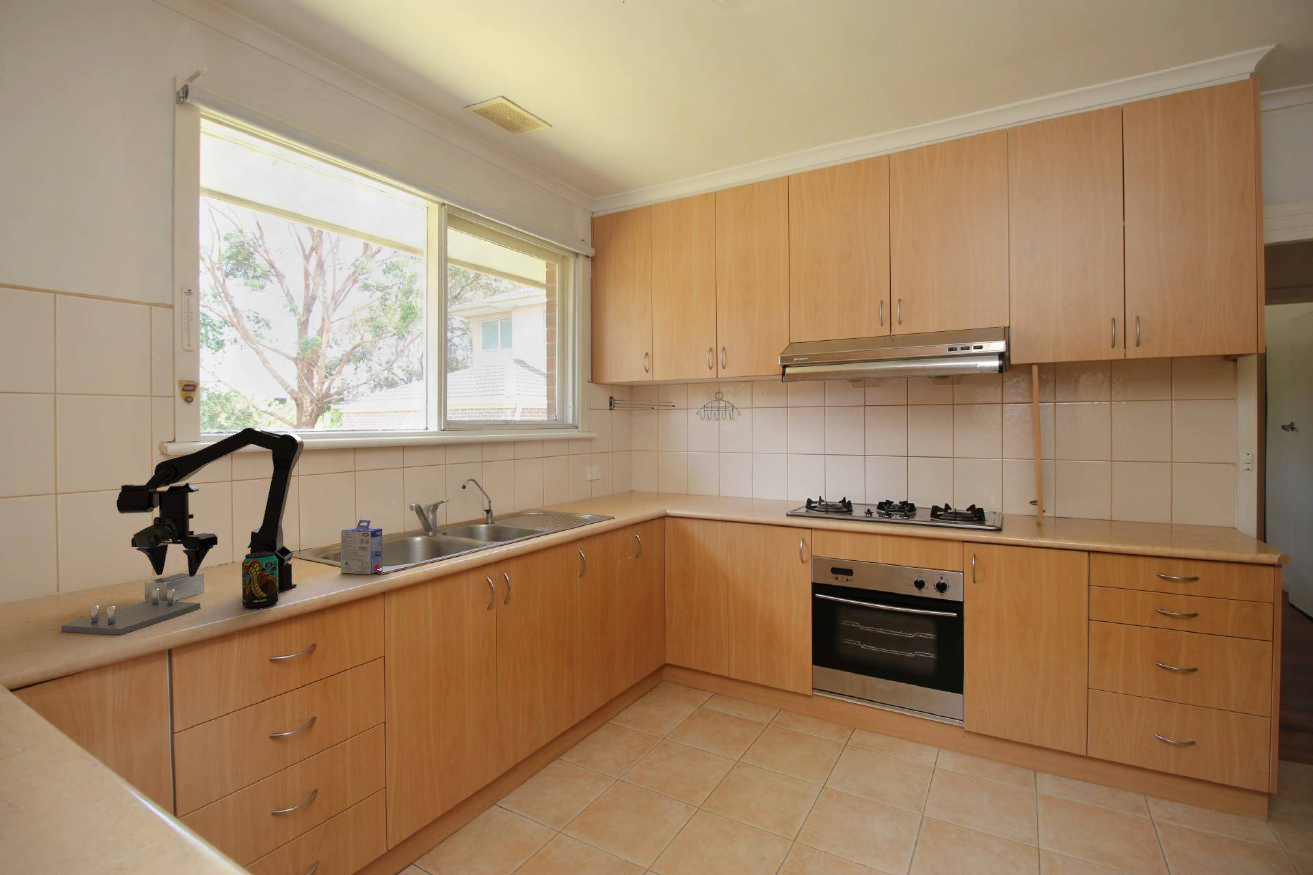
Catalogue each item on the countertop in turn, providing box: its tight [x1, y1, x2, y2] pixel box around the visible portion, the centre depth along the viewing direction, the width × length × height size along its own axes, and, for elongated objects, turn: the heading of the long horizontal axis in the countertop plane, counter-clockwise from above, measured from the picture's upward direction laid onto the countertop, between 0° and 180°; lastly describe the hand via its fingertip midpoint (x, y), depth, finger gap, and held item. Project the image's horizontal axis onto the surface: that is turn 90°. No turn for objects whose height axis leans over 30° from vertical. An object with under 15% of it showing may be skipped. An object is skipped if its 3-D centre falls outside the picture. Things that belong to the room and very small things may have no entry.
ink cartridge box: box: [340, 519, 383, 575], centre depth 175 cm, size 10×6×14 cm, turn 78°
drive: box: [144, 571, 205, 602], centre depth 150 cm, size 6×10×5 cm, turn 172°
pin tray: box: [60, 588, 201, 635], centre depth 133 cm, size 14×18×5 cm
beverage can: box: [241, 552, 280, 610], centre depth 143 cm, size 7×7×12 cm
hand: (175, 575), depth 150 cm, fingers open, 9 cm apart
